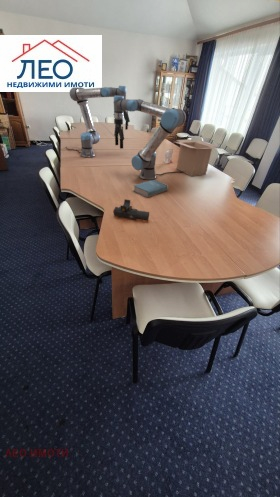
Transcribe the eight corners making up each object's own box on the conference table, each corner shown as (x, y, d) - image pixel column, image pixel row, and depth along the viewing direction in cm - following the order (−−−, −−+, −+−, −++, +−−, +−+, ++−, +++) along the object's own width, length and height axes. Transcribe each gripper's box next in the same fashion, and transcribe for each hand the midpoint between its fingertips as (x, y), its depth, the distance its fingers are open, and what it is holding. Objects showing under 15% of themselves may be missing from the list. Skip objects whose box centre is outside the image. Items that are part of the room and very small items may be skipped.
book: (152, 185, 190) (153, 179, 187) (167, 191, 181) (167, 185, 178) (133, 191, 176) (133, 185, 173) (147, 198, 167) (148, 191, 164)
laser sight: (146, 224, 135) (147, 209, 129) (111, 219, 138) (111, 204, 132) (149, 217, 143) (150, 203, 137) (115, 212, 146) (115, 198, 140)
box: (218, 176, 220) (226, 147, 204) (190, 180, 206) (196, 149, 190) (191, 164, 250) (196, 137, 234) (164, 166, 236) (168, 138, 220)
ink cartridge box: (168, 161, 255) (170, 147, 246) (171, 162, 252) (173, 148, 243) (163, 162, 249) (165, 148, 241) (167, 163, 247) (169, 149, 238)
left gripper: (111, 103, 226) (111, 126, 239) (128, 106, 213) (127, 130, 226) (116, 103, 231) (116, 126, 244) (133, 106, 218) (132, 130, 231)
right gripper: (110, 116, 188) (111, 144, 200) (118, 120, 169) (119, 150, 181) (118, 117, 190) (118, 143, 203) (128, 120, 172) (127, 149, 184)
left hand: (122, 128), depth 235 cm, fingers open, 13 cm apart
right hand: (119, 146), depth 192 cm, fingers open, 13 cm apart
